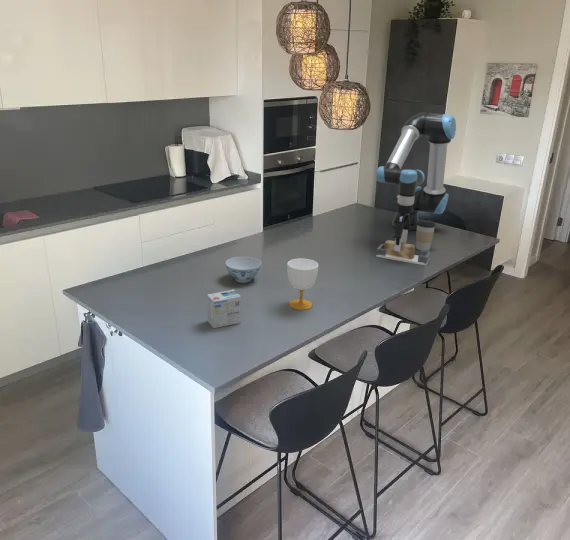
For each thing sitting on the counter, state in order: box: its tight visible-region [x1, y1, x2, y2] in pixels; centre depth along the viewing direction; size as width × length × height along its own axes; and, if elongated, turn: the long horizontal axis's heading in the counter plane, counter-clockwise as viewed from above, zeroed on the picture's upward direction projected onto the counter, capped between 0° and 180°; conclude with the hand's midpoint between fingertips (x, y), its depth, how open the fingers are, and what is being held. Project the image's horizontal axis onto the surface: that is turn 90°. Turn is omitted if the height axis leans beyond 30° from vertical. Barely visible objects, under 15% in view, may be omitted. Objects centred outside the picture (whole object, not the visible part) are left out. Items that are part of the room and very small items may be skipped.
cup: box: [286, 258, 319, 311], centre depth 205 cm, size 12×12×17 cm
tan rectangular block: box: [384, 239, 416, 260], centre depth 259 cm, size 14×4×6 cm, turn 61°
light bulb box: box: [206, 289, 242, 329], centre depth 191 cm, size 11×7×11 cm, turn 118°
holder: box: [375, 243, 432, 266], centre depth 259 cm, size 9×24×4 cm, turn 66°
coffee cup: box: [415, 217, 436, 252], centre depth 271 cm, size 9×9×15 cm
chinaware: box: [225, 256, 262, 284], centre depth 227 cm, size 15×15×8 cm
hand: (400, 246), depth 259 cm, fingers open, 13 cm apart
